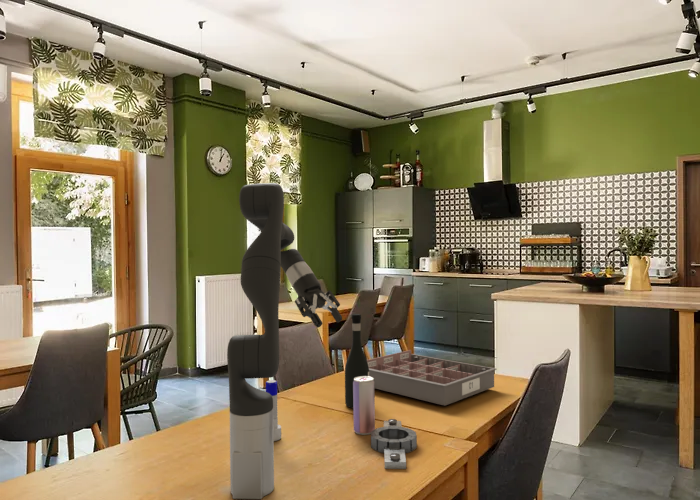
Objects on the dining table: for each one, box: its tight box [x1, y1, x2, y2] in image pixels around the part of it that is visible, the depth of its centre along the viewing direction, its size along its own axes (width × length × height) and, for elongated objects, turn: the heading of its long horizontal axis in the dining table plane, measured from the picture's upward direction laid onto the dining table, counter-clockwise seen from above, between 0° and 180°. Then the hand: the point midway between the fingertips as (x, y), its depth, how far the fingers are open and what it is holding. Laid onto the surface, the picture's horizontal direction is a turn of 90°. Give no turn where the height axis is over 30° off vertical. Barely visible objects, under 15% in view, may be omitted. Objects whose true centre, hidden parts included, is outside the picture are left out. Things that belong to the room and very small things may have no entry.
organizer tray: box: [366, 349, 497, 406], centre depth 191 cm, size 32×40×10 cm
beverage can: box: [352, 376, 376, 436], centre depth 147 cm, size 6×6×15 cm
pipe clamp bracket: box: [370, 418, 418, 470], centre depth 137 cm, size 29×12×3 cm, turn 177°
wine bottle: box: [344, 313, 369, 409], centre depth 171 cm, size 8×8×30 cm
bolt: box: [265, 379, 282, 442], centre depth 142 cm, size 16×5×5 cm
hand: (330, 323), depth 153 cm, fingers open, 8 cm apart
